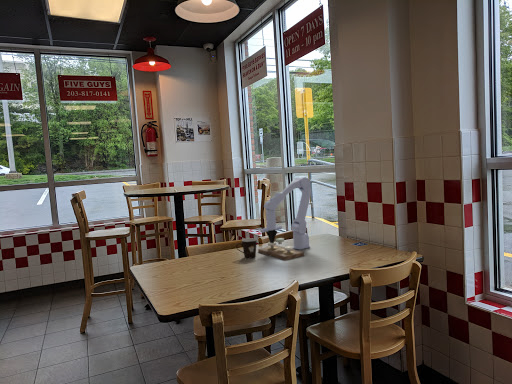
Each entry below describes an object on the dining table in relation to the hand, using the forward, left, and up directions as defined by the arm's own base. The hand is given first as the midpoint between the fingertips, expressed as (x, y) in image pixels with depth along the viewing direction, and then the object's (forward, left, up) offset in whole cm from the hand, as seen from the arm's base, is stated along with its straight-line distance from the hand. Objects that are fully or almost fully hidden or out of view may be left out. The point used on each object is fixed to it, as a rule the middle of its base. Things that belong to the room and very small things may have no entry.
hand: (272, 242), depth 230 cm
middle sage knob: (0, +8, 0) cm, 8 cm away
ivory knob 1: (0, 0, -3) cm, 3 cm away
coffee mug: (+18, 0, -6) cm, 19 cm away
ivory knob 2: (0, +16, -3) cm, 16 cm away
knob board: (0, +8, -6) cm, 10 cm away
